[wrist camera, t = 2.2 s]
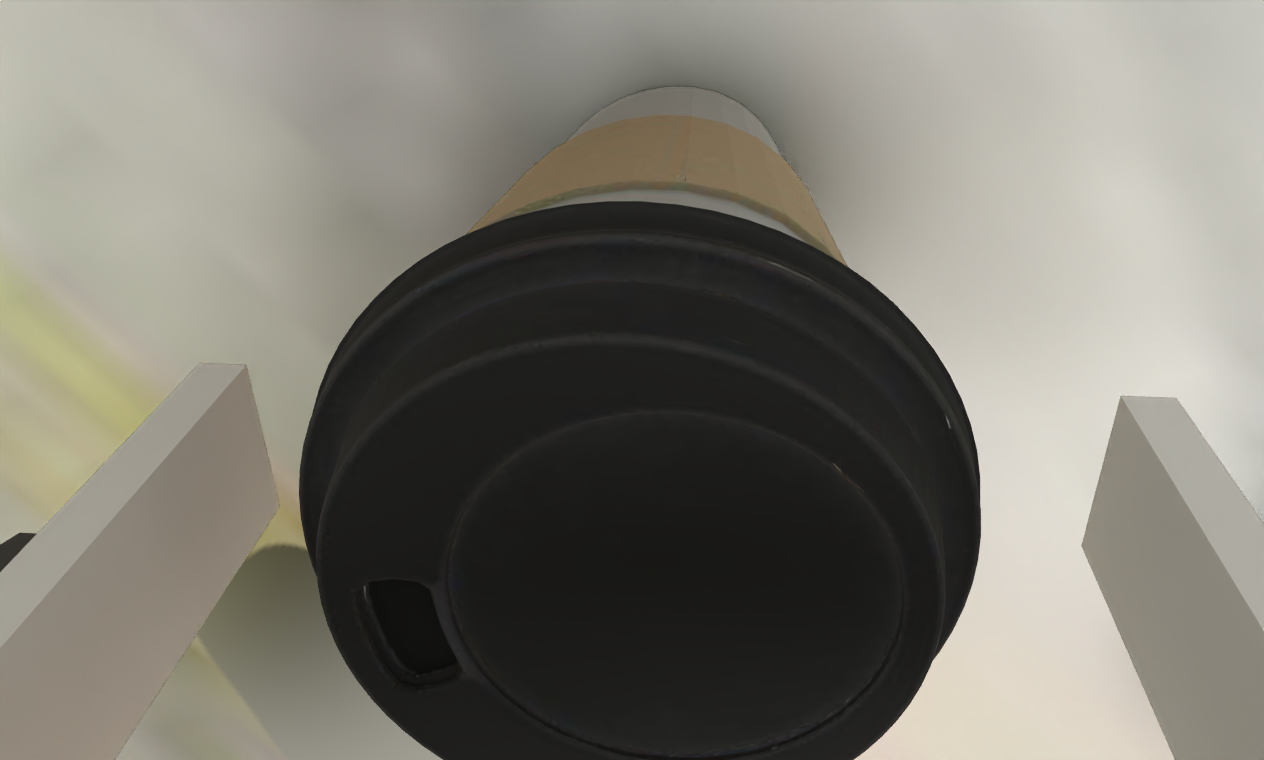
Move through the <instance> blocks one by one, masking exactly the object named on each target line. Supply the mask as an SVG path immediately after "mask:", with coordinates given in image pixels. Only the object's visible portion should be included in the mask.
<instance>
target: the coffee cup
mask: <svg viewBox="0 0 1264 760" xmlns="http://www.w3.org/2000/svg"><path fill="white" fill-rule="evenodd" d="M299 500H300V513H301V521H302V526H303V531H304V537H305V542H306V546H307V549H308V552H309V555H310V559H311V562H312V566H313V568H314V571H315V573H316V576H317V579H318V587H319V592H320V598H321V604H322V607H323V610H324V614H325V617H326V621H327V624H328V626H329V629H330V631H331V633H332V636H333V639H334V641H335V643H336V645H337V647H338V649H339V651H340V653H341V655H342V657H343V659H344V660H345V662H346V664H347V665H348V667H349V669H350V670H351V672H352V673H353V675H354V676H355V678H356V679H357V681H358V682H359V683H360V685H361V686H362V687H363V689H364V690H365V691H366V692H367V694H368V695H369V696H370V697H371V699H372V700H373V701H374V702H375V703H376V704H377V705H378V706H379V707H380V708H381V709H382V711H383V712H384V713H385V714H386V715H387V716H388V717H389V718H390V719H391V720H393V721H394V722H395V723H396V724H397V725H398V726H399V727H400V728H401V729H402V730H403V731H405V732H406V733H407V734H408V735H410V736H411V737H412V738H413V739H415V740H416V741H417V742H419V743H420V744H421V745H422V746H424V747H425V748H427V749H428V750H430V751H431V752H433V753H434V754H436V755H437V756H438V757H440V758H442V759H443V760H854V759H855V758H857V757H858V756H859V755H861V754H862V753H863V752H865V751H866V750H867V749H868V748H869V747H870V746H872V745H873V744H874V743H875V742H876V741H877V740H878V739H880V738H881V737H882V736H883V735H884V734H885V733H886V732H887V731H888V729H889V728H890V727H891V726H892V725H893V724H894V723H895V722H896V721H897V720H898V718H899V717H900V716H901V715H902V713H903V712H904V711H905V709H906V708H907V707H908V706H909V704H910V703H911V701H912V700H913V698H914V696H915V695H916V693H917V692H918V690H919V688H920V687H921V685H922V683H923V681H924V679H925V677H926V674H927V672H928V670H929V668H930V666H931V663H932V661H933V659H934V658H935V657H936V656H937V654H938V653H939V652H940V650H941V649H942V647H943V645H944V644H945V642H946V640H947V639H948V637H949V636H950V634H951V632H952V631H953V629H954V627H955V625H956V623H957V621H958V619H959V617H960V615H961V612H962V610H963V608H964V606H965V603H966V600H967V598H968V595H969V592H970V589H971V586H972V583H973V579H974V575H975V571H976V566H977V562H978V555H979V547H980V538H981V508H980V473H979V464H978V455H977V449H976V445H975V441H974V436H973V432H972V428H971V424H970V421H969V418H968V416H967V413H966V410H965V407H964V404H963V402H962V399H961V397H960V395H959V393H958V391H957V389H956V387H955V385H954V383H953V381H952V379H951V376H950V374H949V373H948V371H947V369H946V368H945V366H944V365H943V363H942V362H941V360H940V358H939V357H938V355H937V354H936V352H935V350H934V349H933V348H932V346H931V345H930V344H929V343H928V341H927V340H926V339H925V337H924V336H923V335H922V334H921V332H920V331H919V330H918V329H917V327H916V326H915V325H914V324H913V323H912V322H911V321H910V320H909V319H908V318H907V317H906V315H905V314H904V313H903V312H902V311H901V310H900V309H899V308H898V307H897V306H896V305H895V304H894V303H893V302H892V301H891V300H890V299H888V298H887V297H886V296H885V295H884V294H883V293H881V292H880V291H879V290H878V289H877V288H875V287H874V286H873V285H872V284H871V283H870V282H868V281H867V280H866V279H864V278H863V277H861V276H860V275H858V274H857V273H856V272H854V271H853V270H851V269H850V268H848V266H847V264H846V262H845V261H844V259H843V257H842V255H841V253H840V251H839V249H838V247H837V245H836V243H835V241H834V240H833V238H832V236H831V234H830V232H829V230H828V228H827V226H826V224H825V222H824V220H823V219H822V217H821V215H820V213H819V211H818V209H817V207H816V205H815V203H814V201H813V199H812V198H811V196H810V194H809V192H808V190H807V188H806V186H805V185H804V183H803V182H802V181H801V180H800V178H799V177H798V176H797V175H796V173H795V172H794V171H793V169H792V168H791V167H790V166H789V164H788V163H787V162H786V161H785V159H783V158H782V156H781V154H780V152H779V150H778V148H777V146H776V144H775V142H774V140H773V138H772V136H771V135H770V133H769V132H768V131H767V130H766V128H765V127H764V126H763V124H762V123H761V122H760V121H759V119H758V118H757V117H756V116H755V115H754V114H753V113H751V112H750V111H749V110H748V109H746V108H745V107H744V106H743V105H741V104H740V103H739V102H737V101H735V100H733V99H731V98H729V97H727V96H725V95H722V94H720V93H718V92H715V91H710V90H706V89H701V88H696V87H675V86H668V87H662V88H655V89H649V90H644V91H641V92H638V93H635V94H632V95H629V96H626V97H623V98H621V99H619V100H617V101H615V102H613V103H612V104H610V105H608V106H606V107H604V108H602V109H601V110H599V111H598V112H597V113H596V114H595V115H593V116H592V117H591V118H590V119H589V120H587V121H586V122H585V123H584V124H583V125H582V126H581V127H580V128H579V129H578V130H577V131H576V132H575V133H574V134H573V135H572V136H571V137H570V138H569V139H568V140H567V141H566V142H565V143H563V144H562V145H560V146H558V147H556V148H554V149H553V150H552V151H551V152H549V153H548V154H547V155H546V156H545V157H543V158H542V159H541V160H540V161H539V162H538V163H536V164H535V165H534V166H533V167H532V168H530V169H529V170H528V171H527V172H526V173H525V174H524V175H523V176H522V177H521V178H520V179H519V181H518V182H517V183H516V184H515V185H514V186H513V187H512V188H511V189H510V190H509V191H508V192H507V193H506V194H505V195H504V196H503V197H502V198H501V199H500V200H499V201H498V202H497V203H496V204H495V205H494V206H493V207H492V208H491V209H490V210H489V211H488V213H487V214H486V215H485V216H484V217H483V218H482V219H481V220H480V221H479V222H478V223H477V224H476V225H475V226H474V227H473V228H472V229H471V230H470V231H469V232H468V233H467V234H466V235H465V236H462V237H460V238H458V239H456V240H454V241H452V242H450V243H448V244H446V245H444V246H442V247H441V248H439V249H438V250H436V251H434V252H433V253H431V254H429V255H428V256H426V257H424V258H423V259H421V260H420V261H418V262H417V263H416V264H414V265H413V266H412V267H410V268H409V269H408V270H406V271H405V272H404V273H402V274H401V275H400V276H398V277H397V278H396V279H395V280H394V281H393V282H391V283H390V284H389V285H388V286H387V287H386V288H385V289H384V290H383V291H382V292H381V293H380V294H379V295H378V296H377V297H376V298H375V299H374V300H373V301H372V302H371V303H370V304H369V305H368V307H367V308H366V309H365V310H364V311H363V312H362V314H361V315H360V316H359V317H358V318H357V319H356V321H355V322H354V324H353V325H352V326H351V328H350V329H349V331H348V332H347V334H346V335H345V337H344V338H343V340H342V341H341V343H340V344H339V346H338V348H337V350H336V352H335V354H334V356H333V358H332V359H331V361H330V363H329V365H328V368H327V370H326V373H325V375H324V378H323V380H322V383H321V385H320V388H319V391H318V395H317V398H316V402H315V406H314V410H313V413H312V417H311V419H310V422H309V426H308V430H307V433H306V437H305V441H304V445H303V451H302V458H301V465H300V478H299Z"/></svg>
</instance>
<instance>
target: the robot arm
mask: <svg viewBox="0 0 1264 760" xmlns="http://www.w3.org/2000/svg"><path fill="white" fill-rule="evenodd" d="M279 507H280V504H279V500H278V496H277V492H276V487H275V483H274V479H273V475H272V471H271V466H270V462H269V458H268V454H267V449H266V445H265V441H264V437H263V433H262V428H261V424H260V420H259V416H258V411H257V407H256V403H255V399H254V395H253V390H252V386H251V382H250V378H249V373H248V369H247V365H242V364H214V363H199V364H198V365H197V366H196V367H195V368H194V369H193V370H192V371H191V373H190V374H189V375H188V376H187V377H186V378H185V379H184V380H183V381H182V382H181V383H180V384H179V385H178V386H177V387H176V388H175V389H174V390H173V391H172V392H171V394H170V395H169V396H168V397H167V398H166V399H165V400H164V401H163V402H162V403H161V404H160V405H159V406H158V407H157V408H156V409H155V410H154V411H153V412H152V413H151V415H150V416H149V417H148V418H147V419H146V420H145V421H144V422H143V423H142V424H141V425H140V426H139V427H138V428H137V429H136V430H135V431H134V432H133V433H132V434H131V436H130V437H129V438H128V439H127V440H126V441H125V442H124V443H123V444H122V445H121V446H120V447H119V448H118V449H117V450H116V451H115V452H114V453H113V454H112V456H111V457H110V458H109V459H108V460H107V461H106V462H105V463H104V464H103V465H102V466H101V467H100V468H99V469H98V470H97V471H96V472H95V473H94V474H93V475H92V477H91V478H90V479H89V480H88V481H87V482H86V483H85V484H84V485H83V486H82V487H81V488H80V489H79V490H78V491H77V492H76V493H75V494H74V495H73V496H72V498H71V499H70V500H69V501H68V502H67V503H66V504H65V505H64V506H63V507H62V508H61V509H60V510H59V511H58V512H57V513H56V514H55V515H54V516H53V517H52V519H51V520H50V521H49V522H48V523H47V524H46V525H45V526H44V527H43V528H42V529H41V530H40V531H39V532H38V533H37V534H33V533H19V534H17V535H15V536H14V537H12V538H11V539H9V540H7V541H6V542H4V543H2V544H1V545H0V760H115V759H116V757H117V756H118V754H119V753H120V751H121V750H122V748H123V747H124V745H125V744H126V742H127V740H128V739H129V737H130V736H131V734H132V733H133V731H134V730H135V728H136V727H137V725H138V724H139V722H140V721H141V719H142V717H143V716H144V714H145V713H146V711H147V710H148V708H149V707H150V705H151V704H152V702H153V701H154V699H155V697H156V696H157V694H158V693H159V691H160V690H161V688H162V687H163V685H164V684H165V682H166V681H167V679H168V678H169V676H170V674H171V673H172V671H173V670H174V668H175V667H176V665H177V664H178V662H179V661H180V659H181V658H182V656H183V654H184V653H185V651H186V650H187V648H188V647H189V645H190V644H191V642H192V641H193V639H194V638H195V636H196V635H197V633H198V631H199V630H200V628H201V627H202V625H203V624H204V622H205V621H206V619H207V617H208V616H209V614H210V613H211V611H212V610H213V608H214V607H215V605H216V604H217V602H218V601H219V599H220V598H221V596H222V595H223V593H224V591H225V590H226V588H227V587H228V585H229V584H230V582H231V581H232V579H233V578H234V576H235V574H236V573H237V572H238V570H239V568H240V567H241V565H242V564H243V562H244V561H245V559H246V558H247V556H248V555H249V553H250V552H251V550H252V549H253V547H254V545H255V544H256V542H257V541H258V539H259V538H260V536H261V535H262V533H263V532H264V530H265V529H266V527H267V526H268V524H269V522H270V521H271V519H272V518H273V516H274V515H275V513H276V512H277V510H278V509H279ZM1082 548H1083V550H1084V553H1085V555H1086V557H1087V559H1088V562H1089V564H1090V566H1091V569H1092V571H1093V573H1094V575H1095V578H1096V580H1097V582H1098V585H1099V587H1100V589H1101V591H1102V594H1103V596H1104V598H1105V601H1106V603H1107V605H1108V607H1109V610H1110V612H1111V614H1112V617H1113V619H1114V621H1115V624H1116V626H1117V628H1118V630H1119V633H1120V635H1121V637H1122V640H1123V642H1124V644H1125V646H1126V649H1127V651H1128V653H1129V656H1130V658H1131V660H1132V662H1133V665H1134V667H1135V669H1136V672H1137V674H1138V676H1139V679H1140V681H1141V683H1142V685H1143V688H1144V690H1145V692H1146V695H1147V697H1148V699H1149V701H1150V704H1151V706H1152V708H1153V711H1154V713H1155V715H1156V717H1157V720H1158V722H1159V724H1160V727H1161V729H1162V731H1163V733H1164V736H1165V738H1166V740H1167V743H1168V745H1169V747H1170V750H1171V752H1172V754H1173V756H1174V759H1175V760H1264V523H1263V521H1262V520H1261V519H1260V517H1259V516H1258V514H1257V513H1256V511H1255V510H1254V509H1253V507H1252V506H1251V504H1250V503H1249V501H1248V500H1247V498H1246V497H1245V496H1244V494H1243V493H1242V491H1241V490H1240V488H1239V487H1238V486H1237V484H1236V483H1235V481H1234V480H1233V478H1232V477H1231V476H1230V474H1229V473H1228V471H1227V470H1226V468H1225V467H1224V465H1223V464H1222V463H1221V461H1220V460H1219V458H1218V457H1217V455H1216V454H1215V453H1214V451H1213V450H1212V448H1211V447H1210V445H1209V444H1208V443H1207V441H1206V440H1205V438H1204V437H1203V435H1202V434H1201V432H1200V431H1199V430H1198V428H1197V427H1196V425H1195V424H1194V422H1193V421H1192V420H1191V418H1190V417H1189V415H1188V414H1187V412H1186V411H1185V410H1184V408H1183V407H1182V405H1181V404H1180V402H1179V401H1178V399H1177V398H1166V397H1138V396H1121V397H1120V401H1119V405H1118V409H1117V412H1116V416H1115V420H1114V424H1113V428H1112V431H1111V435H1110V439H1109V443H1108V447H1107V450H1106V454H1105V458H1104V462H1103V466H1102V470H1101V473H1100V477H1099V481H1098V485H1097V489H1096V492H1095V496H1094V500H1093V504H1092V508H1091V512H1090V515H1089V519H1088V523H1087V527H1086V531H1085V534H1084V538H1083V542H1082Z"/></svg>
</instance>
